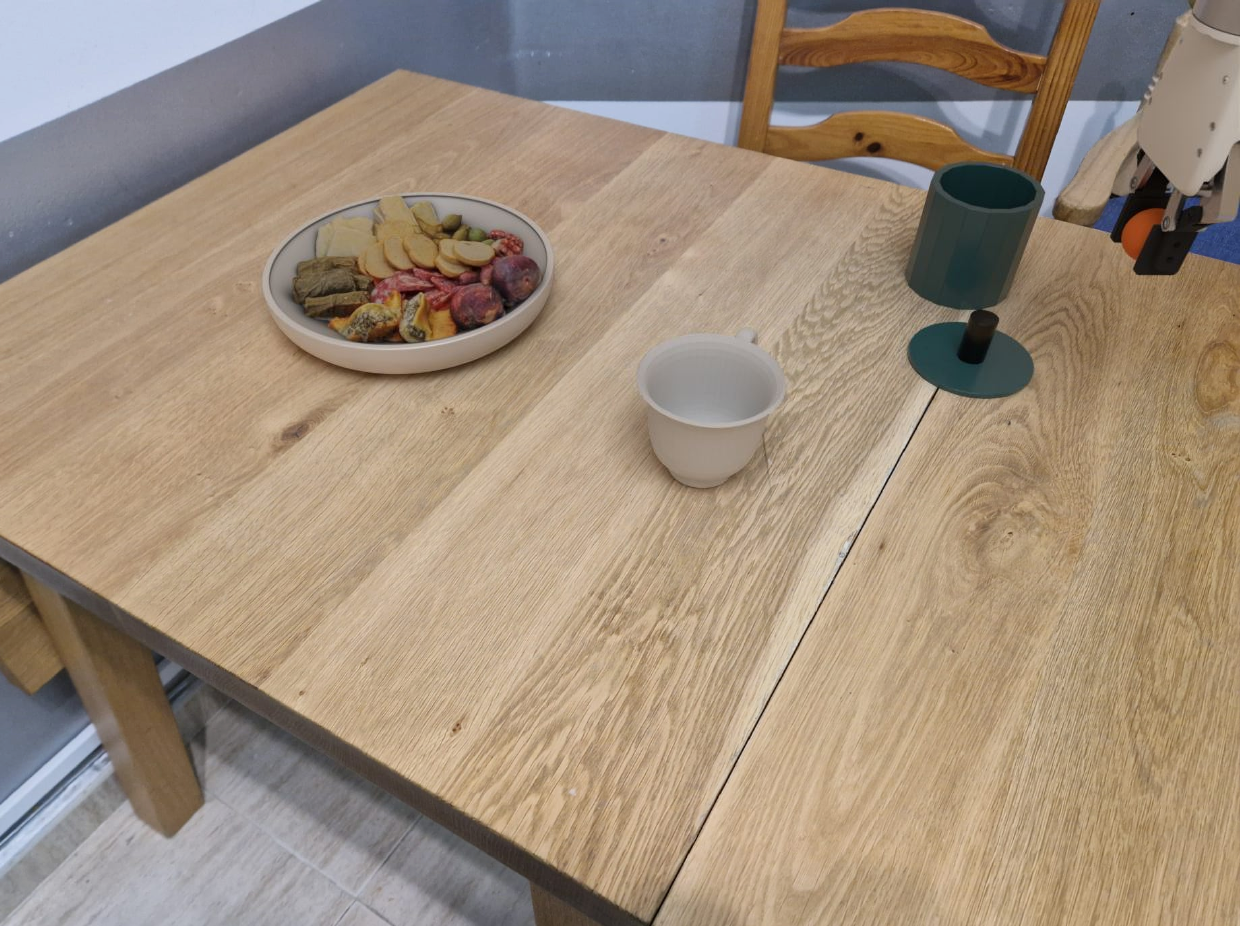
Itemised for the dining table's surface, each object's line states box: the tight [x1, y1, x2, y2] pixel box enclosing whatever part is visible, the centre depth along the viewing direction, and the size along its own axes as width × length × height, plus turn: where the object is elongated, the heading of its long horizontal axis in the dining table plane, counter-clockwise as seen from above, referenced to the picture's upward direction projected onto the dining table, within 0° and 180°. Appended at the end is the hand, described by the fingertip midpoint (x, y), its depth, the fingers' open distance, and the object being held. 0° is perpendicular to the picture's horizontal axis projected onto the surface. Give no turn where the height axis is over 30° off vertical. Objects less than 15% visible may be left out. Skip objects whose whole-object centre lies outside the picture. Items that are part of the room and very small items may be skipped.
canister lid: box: [907, 309, 1035, 399], centre depth 90 cm, size 12×12×6 cm
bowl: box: [261, 191, 555, 375], centre depth 98 cm, size 30×30×8 cm
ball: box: [1121, 208, 1165, 261], centre depth 72 cm, size 4×4×4 cm
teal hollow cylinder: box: [904, 160, 1046, 311], centre depth 97 cm, size 11×11×12 cm
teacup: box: [635, 326, 787, 489], centre depth 80 cm, size 12×15×10 cm
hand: (1142, 254), depth 73 cm, fingers closed on ball, 3 cm apart
